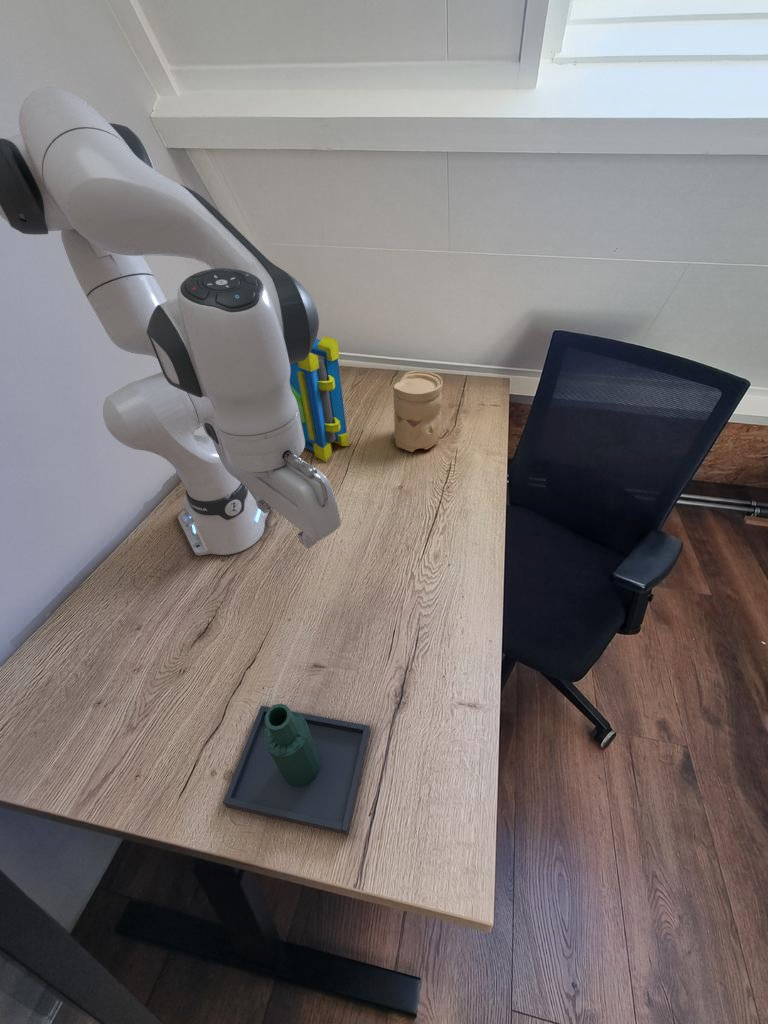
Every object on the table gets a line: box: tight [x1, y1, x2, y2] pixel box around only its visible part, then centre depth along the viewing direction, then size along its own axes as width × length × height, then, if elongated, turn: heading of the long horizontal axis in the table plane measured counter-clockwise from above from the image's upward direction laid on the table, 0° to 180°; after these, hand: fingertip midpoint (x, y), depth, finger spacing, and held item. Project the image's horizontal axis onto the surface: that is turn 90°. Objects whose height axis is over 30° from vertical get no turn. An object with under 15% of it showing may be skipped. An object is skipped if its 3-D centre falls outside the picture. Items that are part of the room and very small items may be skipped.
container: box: [392, 370, 444, 453], centre depth 121 cm, size 13×13×18 cm
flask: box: [264, 703, 320, 787], centre depth 60 cm, size 6×6×17 cm
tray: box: [222, 705, 371, 836], centre depth 66 cm, size 18×14×2 cm
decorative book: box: [290, 335, 350, 463], centre depth 119 cm, size 14×23×30 cm, turn 50°
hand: (287, 525), depth 59 cm, fingers open, 8 cm apart
